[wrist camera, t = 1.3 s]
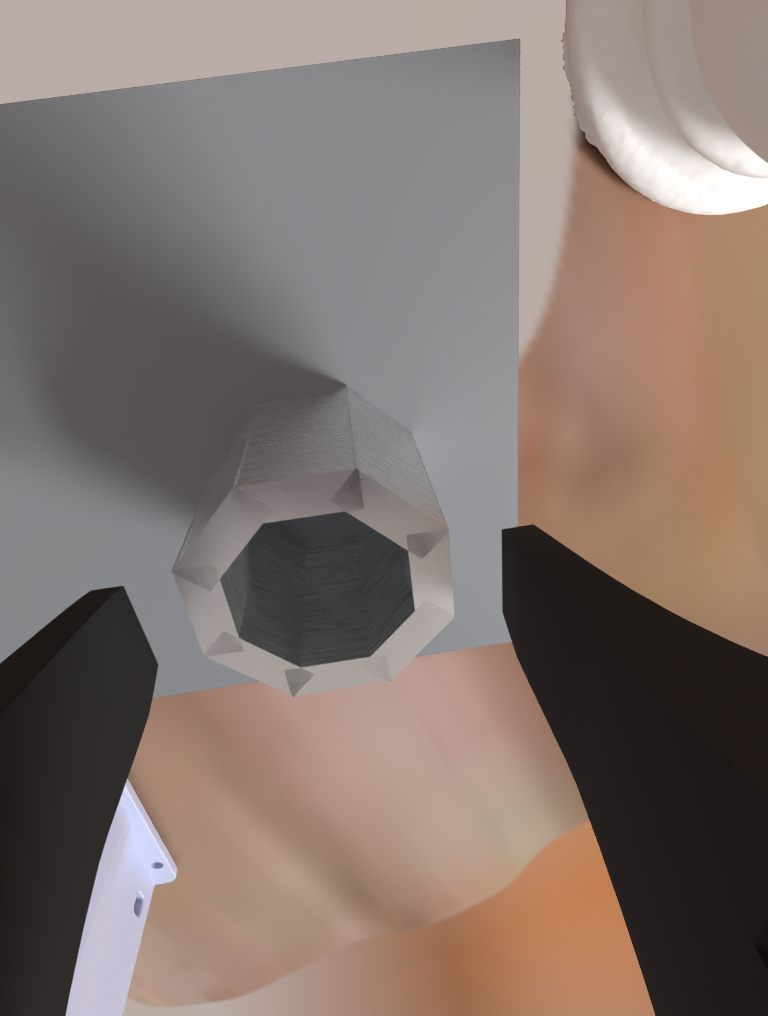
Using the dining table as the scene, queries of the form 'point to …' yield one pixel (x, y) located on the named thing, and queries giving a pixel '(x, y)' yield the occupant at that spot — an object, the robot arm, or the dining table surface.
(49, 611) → the post board
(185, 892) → the dining table surface
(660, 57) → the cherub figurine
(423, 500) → the steel collar
